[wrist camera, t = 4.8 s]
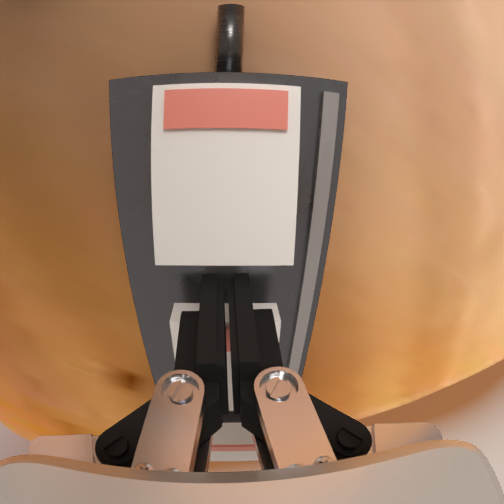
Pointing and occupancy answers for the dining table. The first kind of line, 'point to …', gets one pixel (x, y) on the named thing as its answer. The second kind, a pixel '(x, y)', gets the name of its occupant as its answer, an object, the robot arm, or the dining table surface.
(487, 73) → the dining table surface
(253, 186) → the plate
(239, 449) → the rocker
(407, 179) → the dining table surface
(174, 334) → the rocker
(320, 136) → the power strip
